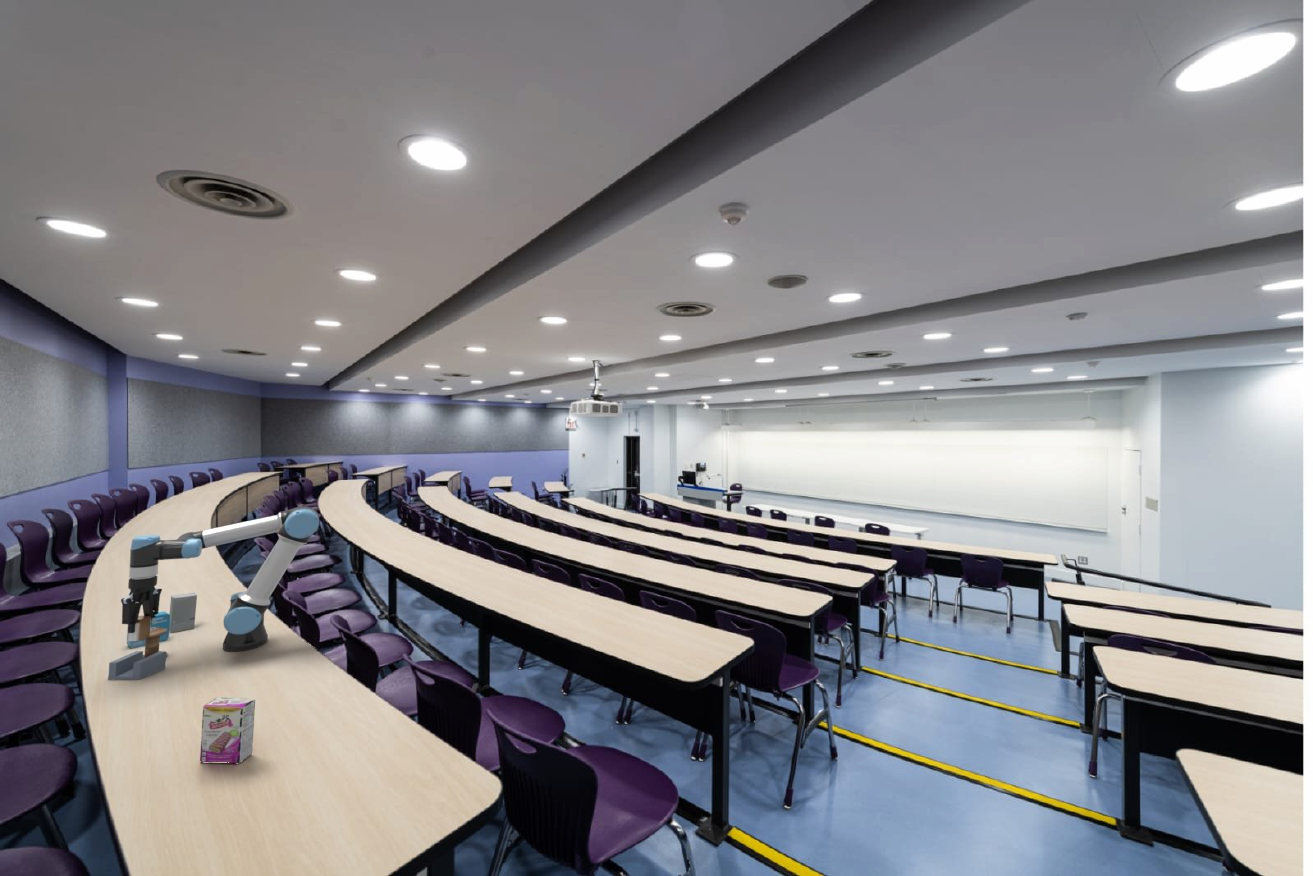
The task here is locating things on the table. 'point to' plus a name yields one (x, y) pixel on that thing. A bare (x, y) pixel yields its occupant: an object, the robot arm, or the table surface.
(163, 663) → the notch board
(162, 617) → the data package
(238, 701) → the candy bar box
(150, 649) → the door knob
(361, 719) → the table surface
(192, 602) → the skincare box
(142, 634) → the tab
